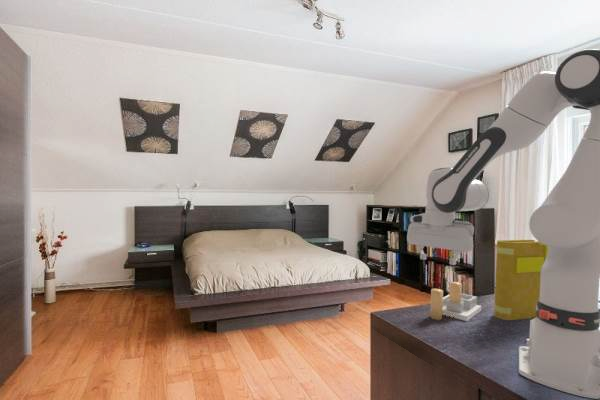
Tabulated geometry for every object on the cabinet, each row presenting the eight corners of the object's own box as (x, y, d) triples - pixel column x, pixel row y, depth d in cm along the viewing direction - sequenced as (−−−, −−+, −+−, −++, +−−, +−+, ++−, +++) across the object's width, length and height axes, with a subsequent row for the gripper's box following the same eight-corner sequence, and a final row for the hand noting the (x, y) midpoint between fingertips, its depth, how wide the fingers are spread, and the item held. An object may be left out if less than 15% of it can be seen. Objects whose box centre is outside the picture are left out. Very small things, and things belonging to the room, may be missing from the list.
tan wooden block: (439, 320, 110) (440, 292, 110) (428, 317, 112) (429, 290, 112) (443, 318, 112) (444, 290, 112) (432, 315, 115) (433, 288, 115)
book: (526, 310, 123) (529, 239, 122) (545, 316, 116) (548, 242, 116) (488, 314, 117) (492, 240, 117) (506, 321, 111) (509, 243, 110)
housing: (466, 321, 110) (468, 288, 110) (435, 313, 117) (436, 281, 117) (481, 310, 121) (482, 280, 121) (451, 303, 128) (452, 274, 128)
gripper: (477, 221, 107) (475, 266, 107) (414, 215, 121) (412, 255, 121) (471, 222, 102) (468, 269, 103) (405, 216, 116) (403, 257, 117)
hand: (437, 261), depth 112 cm, fingers open, 8 cm apart
